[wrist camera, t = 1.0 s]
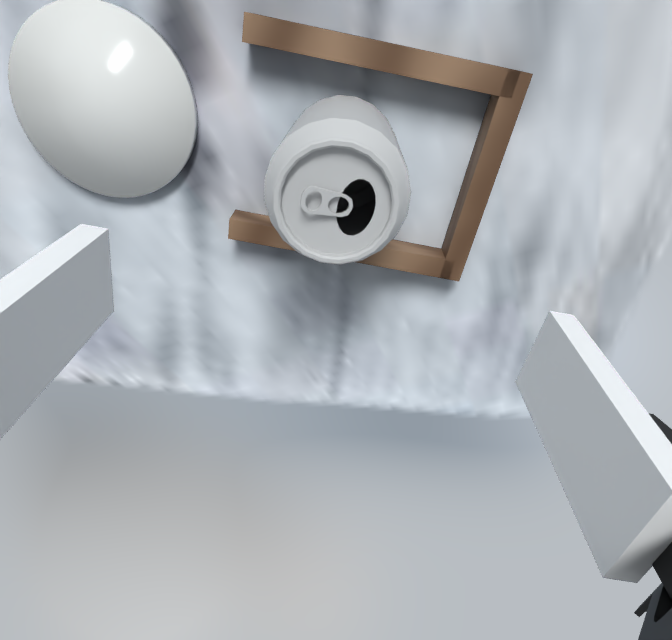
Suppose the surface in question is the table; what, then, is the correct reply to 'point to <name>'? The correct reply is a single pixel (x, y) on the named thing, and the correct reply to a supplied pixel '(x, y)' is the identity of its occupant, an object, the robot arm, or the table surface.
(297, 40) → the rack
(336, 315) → the table surface
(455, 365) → the table surface
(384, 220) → the can
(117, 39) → the white glossy ellipsoid
